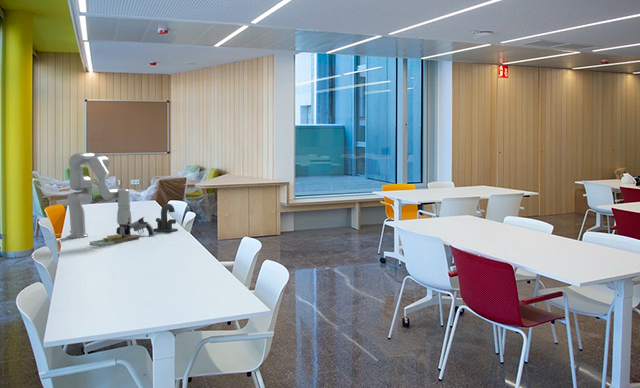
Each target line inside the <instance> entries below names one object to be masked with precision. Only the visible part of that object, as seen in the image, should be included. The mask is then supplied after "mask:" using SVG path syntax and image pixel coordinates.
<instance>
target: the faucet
mask: <svg viewBox="0 0 640 388" xmlns="http://www.w3.org/2000/svg"><path fill="white" fill-rule="evenodd" d="M175 212H176V211H175V207H174V206H173V204H171V203H165V204H164V205H163V206H162V207H161V210H160V218H159V217H156V218H155V222H156V224H157V225H156V226H157V227H156V228H153V230H154V233H168V234H169V233H170V234H171V233H175V232H179V229H178V228H174V227H173V225H176V223H177V220H176V219H175V218H173V219H172V218H171V219H168V213H175Z"/></svg>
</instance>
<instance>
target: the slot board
mask: <svg viewBox="0 0 640 388" xmlns="http://www.w3.org/2000/svg"><path fill="white" fill-rule="evenodd" d="M102 239H105V242H108V237H103V238H102ZM136 240H137V241H138V240H140V236H139V235H134V234H131V236H130V237H124V238H119V239H113V240H112V241H115V243H114V244H120V243H126V242H131V241H136Z"/></svg>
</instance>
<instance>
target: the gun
mask: <svg viewBox="0 0 640 388" xmlns="http://www.w3.org/2000/svg"><path fill="white" fill-rule="evenodd" d="M144 218H145V216H143V217H141V218H139V219H138V220H136V221H134V222H131V223H132V225H131V227H130V230H133V231H134V232H137V233H138V234H139V235H141V234H143V233H144V232H145V230H144V229H146V230H147V232H148V235H149V237H152V236H154V235H155V232H154V230H153V229H154V227H153V226H152V225H151V224H150V223H149V222H148V221H145V220H144ZM115 233H116V235H117V234H120V226H118V227H117V228H116V232H115Z"/></svg>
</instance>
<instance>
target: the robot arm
mask: <svg viewBox="0 0 640 388" xmlns="http://www.w3.org/2000/svg"><path fill="white" fill-rule="evenodd" d="M87 165H88V166H90V169H91V170H92V172H93V173H94V175H95V177H96V179H97V190H98V193H99V194H100V195H101V197H102V198H103V199H104V200H105V201H107V202H108V201H115V200H116V201H117V211H116V212H117V213H116V216H117V217H116V223H117V224H118V227H120V224H123V225H125V227H126V229H125V235H129V234H131V229H130V227H131V225H132V223H133V222H132V213H131V203H130V202H131V201H130V191H129V189H127V188H117V187H115V188H109V187H108V186H107V184H106V180H107V179H108V178H109V177H110V172H109V170H108V167H109V165H110V160H109V158H108V157H107V156H105V155H102V154H99V153H96V152H79V153H78V152H77V153H74V154H72V155H70V157H69V159H68V166H69V187H70V189H71V190H73V191H74V192H71V193H69V194H68V195H67V197H66V198H67V199H66V201H67V205H68V209H69V221H70V223H69V224H70V230H68V231H69V233H70V234H69V235H68V238H71V239H79V238H87V237H88V236H89V234H88V233H86V216H85V209H84V207H83V205H88V204H90V203H91V202H92V200H93V181H92V179H91V177H89V176H87V175H84V169H83V166H87ZM127 223H128V224H127ZM127 225H128V226H127Z"/></svg>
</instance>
